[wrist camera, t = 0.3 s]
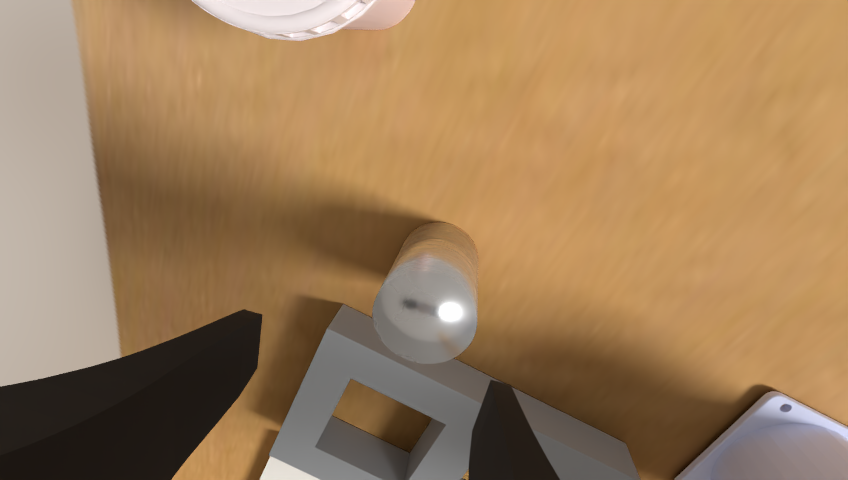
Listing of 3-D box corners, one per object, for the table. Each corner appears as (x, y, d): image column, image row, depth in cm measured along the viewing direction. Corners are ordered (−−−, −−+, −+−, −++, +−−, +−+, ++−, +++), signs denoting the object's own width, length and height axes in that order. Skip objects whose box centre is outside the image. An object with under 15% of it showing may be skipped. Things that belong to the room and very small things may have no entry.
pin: (492, 244, 20) (497, 302, 15) (455, 306, 22) (447, 379, 16) (421, 208, 20) (398, 252, 15) (389, 272, 22) (356, 335, 16)
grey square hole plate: (625, 443, 23) (641, 482, 21) (533, 540, 27) (538, 582, 25) (343, 303, 23) (327, 328, 20) (287, 422, 26) (268, 455, 24)
